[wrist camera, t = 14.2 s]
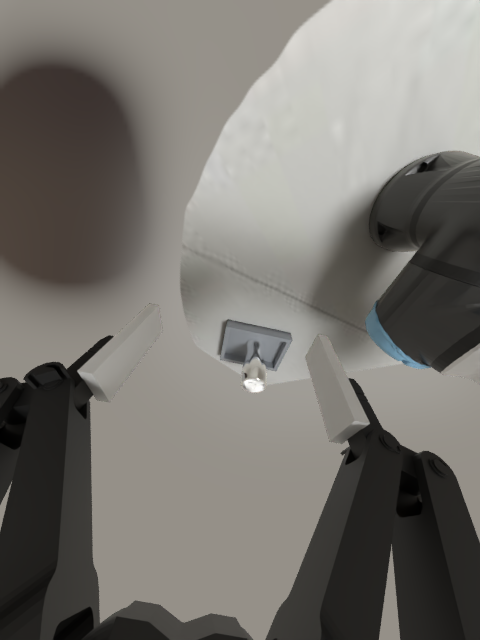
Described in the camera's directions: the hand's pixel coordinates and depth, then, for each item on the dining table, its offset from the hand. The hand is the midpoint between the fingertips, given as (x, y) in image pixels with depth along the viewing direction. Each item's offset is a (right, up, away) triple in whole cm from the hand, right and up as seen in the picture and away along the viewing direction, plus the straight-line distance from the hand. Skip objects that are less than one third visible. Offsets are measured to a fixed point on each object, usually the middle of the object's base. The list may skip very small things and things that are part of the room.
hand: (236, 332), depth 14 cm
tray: (+5, -7, +43) cm, 43 cm away
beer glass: (+5, -7, +42) cm, 43 cm away
